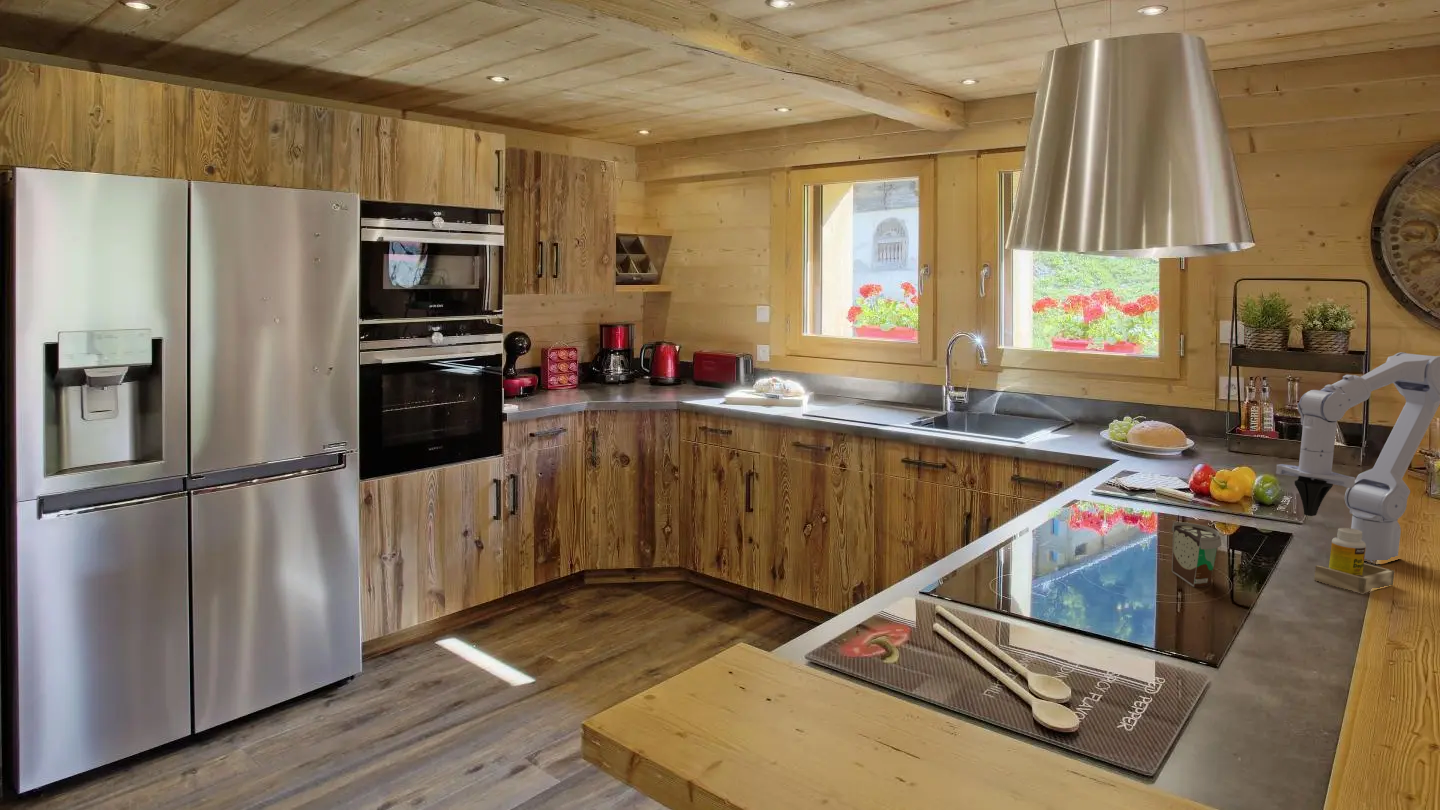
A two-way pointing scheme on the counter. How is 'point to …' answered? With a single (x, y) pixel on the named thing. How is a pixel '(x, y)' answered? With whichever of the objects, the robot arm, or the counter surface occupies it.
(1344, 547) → the supplement bottle
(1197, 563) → the food container
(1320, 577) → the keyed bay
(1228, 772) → the counter surface
